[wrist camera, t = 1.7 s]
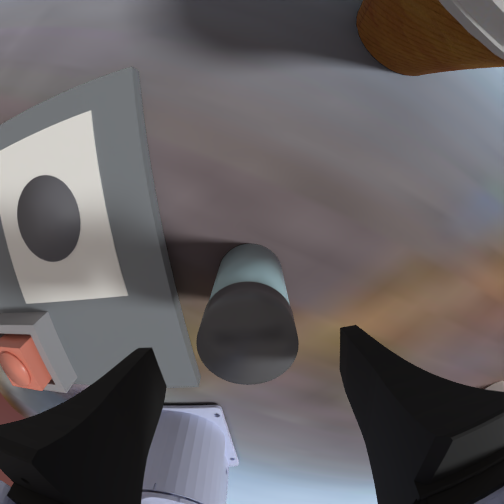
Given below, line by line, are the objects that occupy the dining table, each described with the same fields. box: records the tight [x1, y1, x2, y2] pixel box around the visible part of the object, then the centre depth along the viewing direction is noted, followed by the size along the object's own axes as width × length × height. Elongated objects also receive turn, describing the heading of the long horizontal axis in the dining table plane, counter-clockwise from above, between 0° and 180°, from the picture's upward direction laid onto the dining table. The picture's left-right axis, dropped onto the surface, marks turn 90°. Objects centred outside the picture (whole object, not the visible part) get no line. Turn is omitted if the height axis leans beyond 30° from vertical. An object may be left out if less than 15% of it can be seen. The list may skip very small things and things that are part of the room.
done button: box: [0, 334, 52, 391], centre depth 18 cm, size 4×4×3 cm
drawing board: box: [0, 67, 201, 393], centre depth 18 cm, size 22×18×3 cm
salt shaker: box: [197, 244, 298, 385], centre depth 16 cm, size 4×4×8 cm
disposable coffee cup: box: [356, 0, 504, 76], centre depth 9 cm, size 10×10×12 cm
